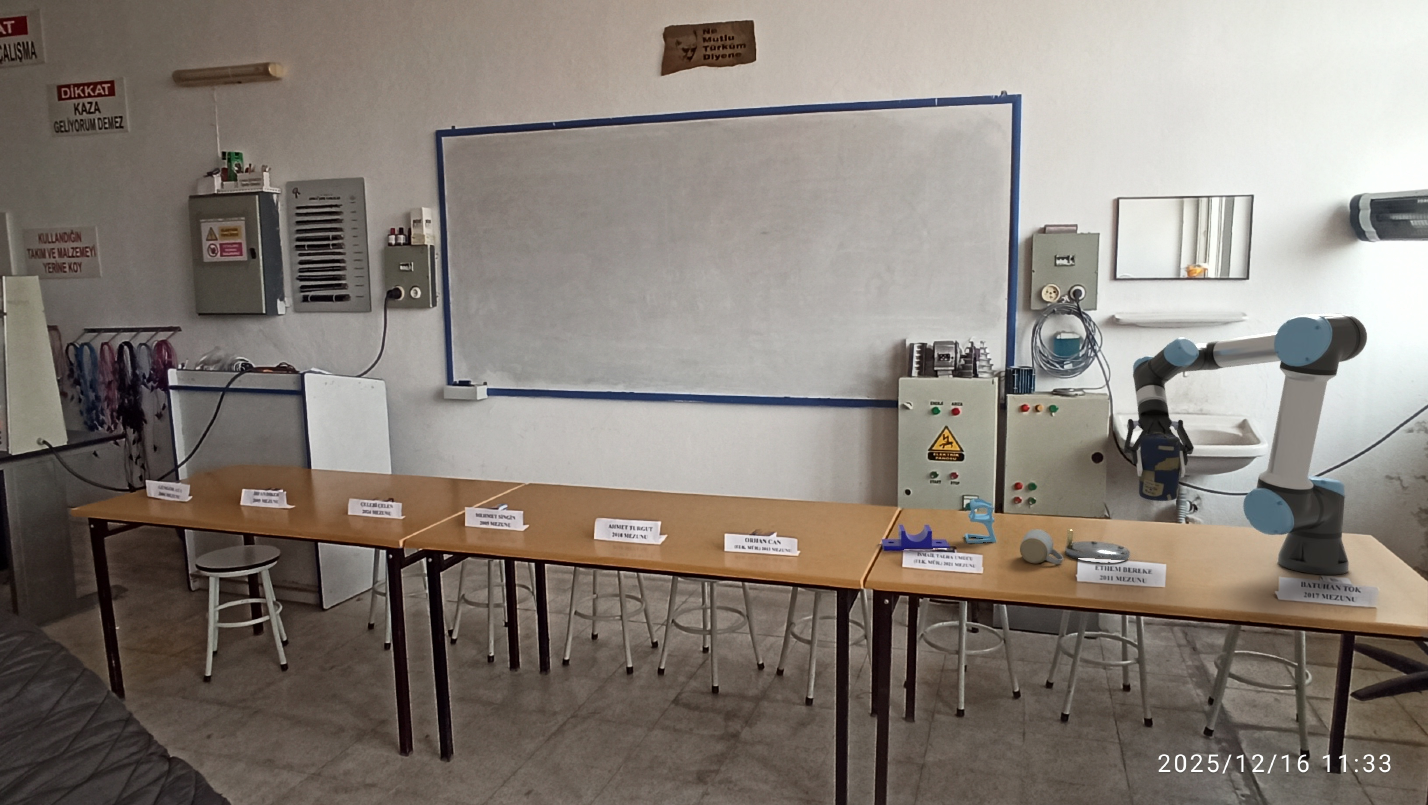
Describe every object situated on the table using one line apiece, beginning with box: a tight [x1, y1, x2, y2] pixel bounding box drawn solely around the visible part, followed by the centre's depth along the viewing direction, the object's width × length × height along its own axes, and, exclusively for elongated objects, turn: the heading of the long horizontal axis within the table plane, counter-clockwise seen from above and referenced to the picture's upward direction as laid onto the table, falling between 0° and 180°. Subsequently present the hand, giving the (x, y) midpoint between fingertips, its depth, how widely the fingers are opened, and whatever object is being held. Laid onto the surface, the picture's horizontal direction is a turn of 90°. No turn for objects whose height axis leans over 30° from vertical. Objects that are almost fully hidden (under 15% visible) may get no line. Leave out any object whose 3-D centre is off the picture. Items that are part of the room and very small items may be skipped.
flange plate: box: [1065, 528, 1131, 561], centre depth 255 cm, size 16×16×6 cm
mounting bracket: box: [880, 524, 951, 552], centre depth 266 cm, size 18×7×6 cm, turn 85°
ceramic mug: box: [1019, 528, 1064, 565], centre depth 250 cm, size 11×8×8 cm
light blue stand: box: [964, 498, 997, 544], centre depth 271 cm, size 8×8×12 cm
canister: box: [1138, 432, 1181, 502], centre depth 251 cm, size 10×10×18 cm
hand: (1161, 473), depth 248 cm, fingers closed on canister, 9 cm apart
